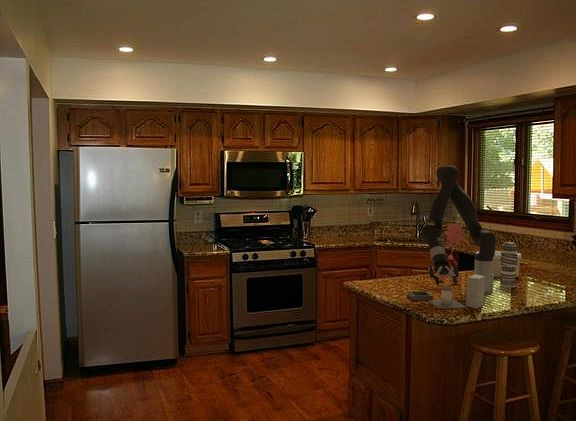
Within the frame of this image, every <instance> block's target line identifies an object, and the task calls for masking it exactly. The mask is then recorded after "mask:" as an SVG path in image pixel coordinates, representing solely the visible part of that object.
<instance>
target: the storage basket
mask: <svg viewBox="0 0 576 421" xmlns="http://www.w3.org/2000/svg"><path fill="white" fill-rule="evenodd" d="M478 253H479V251H477V252H475V255H476V254H478ZM501 253H502V251H500V250H495V255H494V257H493V269H492V274H493V275H494V278H498V279H501V277H500V276H501V274H500V273H501V270H502V266H501V262H502V261H501V256H502V255H501ZM517 255H518V256H516V257H517V258H518V259H516V261H517V262H516V263H517V267H516V276H515V277H516V278H517V277H519V273H520V266H521V259H522V253H518V252H517Z"/></svg>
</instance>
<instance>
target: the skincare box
mask: <svg viewBox="0 0 576 421" xmlns="http://www.w3.org/2000/svg"><path fill="white" fill-rule="evenodd" d="M484 292H485V276H481V275H476V274H474V273H473V274H472V275H469V276H468V277H467V279H466V296H465V307H466V308H467V307H469V308H473V309H479V308H481V307H483V306H484V305H485V293H484Z"/></svg>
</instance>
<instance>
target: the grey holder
mask: <svg viewBox="0 0 576 421" xmlns="http://www.w3.org/2000/svg"><path fill="white" fill-rule="evenodd" d="M407 297H408V298H409V299H411V300H412V301H413V302H426V301H427V302H428V300H434V295H433V294H431V293H429V292H428V291H427V290H425V291H424V290H422V291H419V290H417V291H415V290H413V291H410V290H409V291H407Z"/></svg>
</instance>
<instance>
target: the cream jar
mask: <svg viewBox="0 0 576 421" xmlns="http://www.w3.org/2000/svg"><path fill="white" fill-rule="evenodd" d="M440 300H441V303H442V304H445V305H451V304H452V300H453V287H452V286H446V285H445V286H441V299H440Z"/></svg>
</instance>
